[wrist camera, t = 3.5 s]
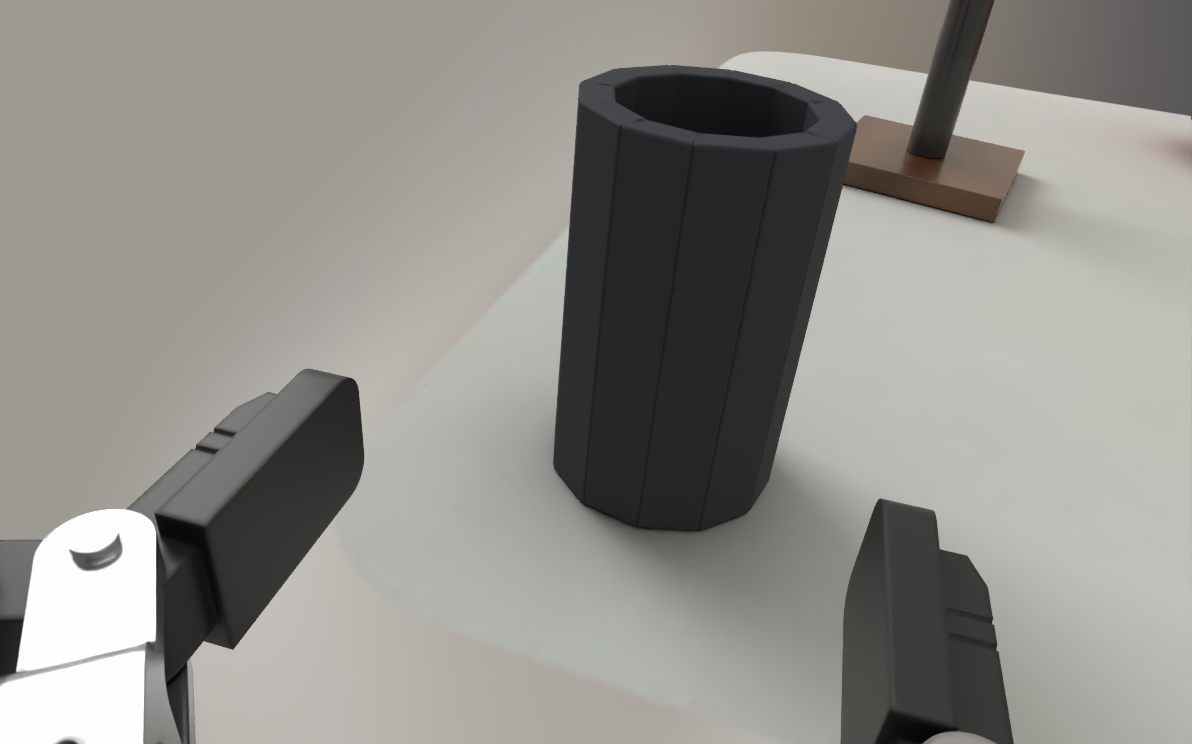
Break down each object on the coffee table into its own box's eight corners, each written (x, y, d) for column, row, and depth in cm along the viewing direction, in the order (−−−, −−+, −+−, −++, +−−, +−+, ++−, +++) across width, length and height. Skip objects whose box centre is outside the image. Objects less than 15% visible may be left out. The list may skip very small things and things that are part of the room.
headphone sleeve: (512, 472, 23) (525, 101, 18) (617, 373, 28) (654, 52, 22) (716, 565, 21) (803, 172, 16) (794, 440, 26) (883, 102, 20)
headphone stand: (813, 176, 45) (874, -88, 38) (859, 134, 52) (918, -96, 45) (993, 222, 41) (1095, -58, 35) (1017, 171, 48) (1106, -72, 42)
